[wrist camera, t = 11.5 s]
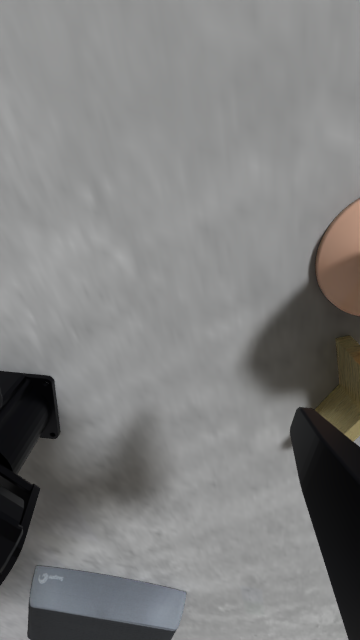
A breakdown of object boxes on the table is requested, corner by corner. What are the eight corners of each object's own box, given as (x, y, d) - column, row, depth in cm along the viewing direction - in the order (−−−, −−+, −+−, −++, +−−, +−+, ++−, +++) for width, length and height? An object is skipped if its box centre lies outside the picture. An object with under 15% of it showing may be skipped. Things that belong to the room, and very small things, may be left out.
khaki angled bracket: (335, 425, 25) (356, 461, 21) (304, 422, 25) (321, 457, 21) (372, 337, 21) (404, 365, 18) (337, 334, 21) (363, 361, 18)
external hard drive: (38, 557, 36) (20, 600, 32) (188, 584, 38) (188, 628, 34) (34, 605, 42) (18, 646, 38) (165, 627, 43) (163, 669, 39)
